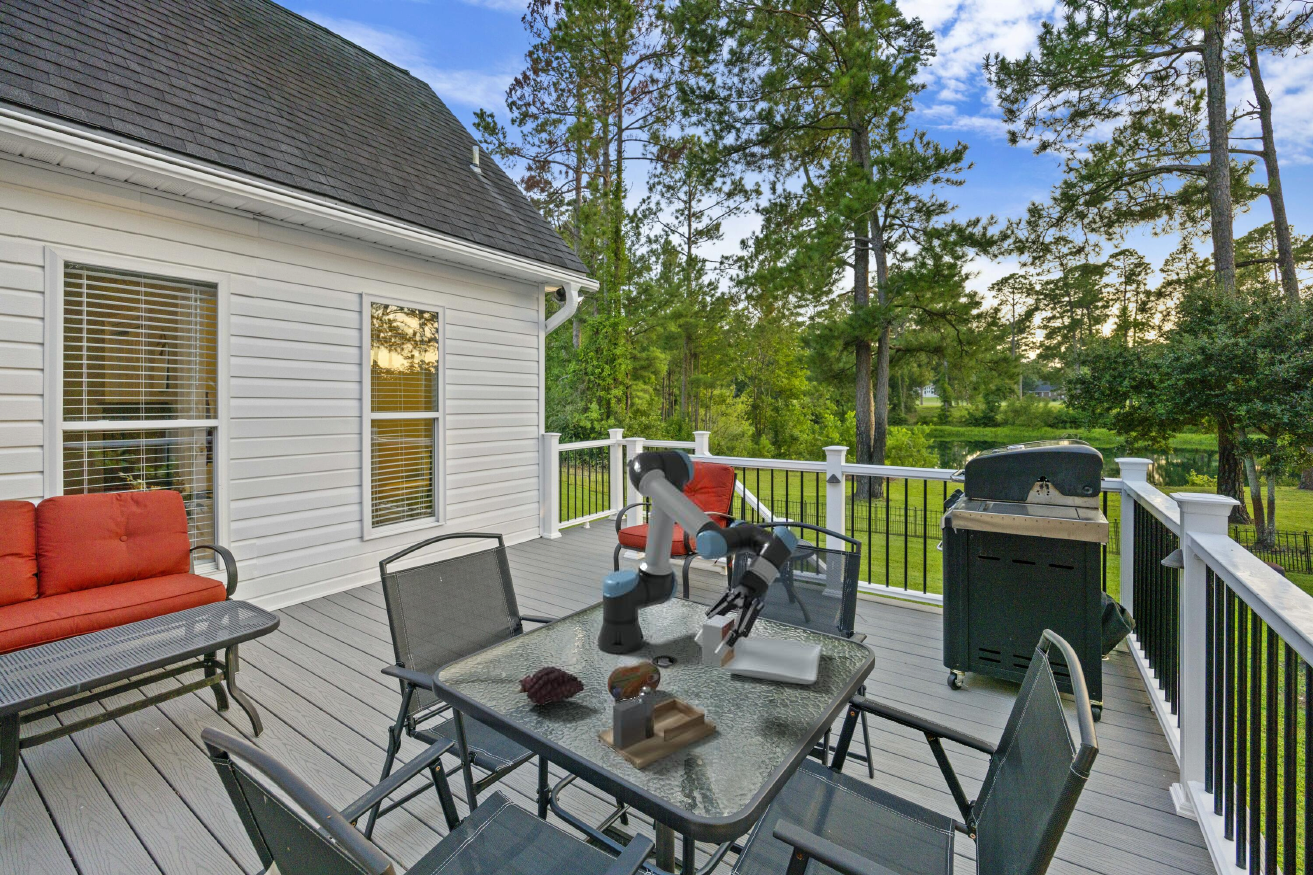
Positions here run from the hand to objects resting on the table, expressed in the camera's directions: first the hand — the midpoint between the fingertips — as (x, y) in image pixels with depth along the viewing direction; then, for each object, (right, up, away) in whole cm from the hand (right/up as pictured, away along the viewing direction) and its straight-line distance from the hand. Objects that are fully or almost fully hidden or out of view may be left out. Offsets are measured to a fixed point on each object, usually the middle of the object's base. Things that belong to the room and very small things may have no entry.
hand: (708, 648), depth 152 cm
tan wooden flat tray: (-13, -17, -10) cm, 23 cm away
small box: (+3, -4, +2) cm, 5 cm away
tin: (-19, -16, +10) cm, 27 cm away
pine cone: (-41, -17, +5) cm, 44 cm away
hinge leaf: (-18, -16, -15) cm, 28 cm away
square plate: (+22, -16, +29) cm, 40 cm away
